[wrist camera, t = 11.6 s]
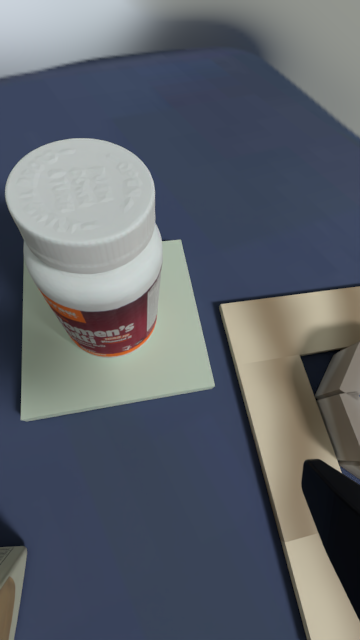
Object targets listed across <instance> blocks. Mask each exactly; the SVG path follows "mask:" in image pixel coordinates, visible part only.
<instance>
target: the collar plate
mask: <svg viewBox="0 0 360 640" xmlns="http://www.w3.org/2000/svg"><path fill="white" fill-rule="evenodd" d="M219 310H220V313H221V317H222V321H223V325H224V329H225V332H226V336H227V340H228V344H229V347H230V351H231V355H232V359H233V362H234V366H235V370H236V374H237V377H238V381H239V385H240V389H241V393H242V396H243V400H244V404H245V408H246V411H247V415H248V419H249V423H250V426H251V430H252V434H253V438H254V442H255V445H256V449H257V453H258V457H259V460H260V464H261V468H262V472H263V475H264V479H265V483H266V487H267V491H268V494H269V498H270V502H271V506H272V509H273V513H274V517H275V521H276V524H277V528H278V532H279V536H280V540H281V543H282V547H283V551H284V555H285V558H286V562H287V566H288V570H289V573H290V577H291V581H292V585H293V589H294V592H295V596H296V600H297V604H298V607H299V611H300V615H301V619H302V622H303V626H304V630H305V634H306V638H307V640H360V621H359V619H358V617H357V615H356V613H355V611H354V609H353V607H352V605H351V603H350V601H349V599H348V597H347V595H346V592H345V590H344V588H343V586H342V584H341V582H340V580H339V578H338V576H337V574H336V572H335V570H334V568H333V566H332V564H331V562H330V560H329V558H328V555H327V553H326V551H325V549H324V546H323V544H322V541H321V539H320V536H319V533H318V531H317V528H316V526H315V523H314V520H313V518H312V515H311V513H310V510H309V507H308V505H307V502H306V500H305V497H304V494H303V492H302V487H301V480H302V472H303V464H304V461H305V460H306V459H320V460H322V461H324V462H325V463H327V464H328V465H330V466H331V467H333V468H334V469H336V470H338V471H339V472H341V469H340V467H339V465H340V466H341V467H343V468H344V469H345V470H347V471H348V472H350V473H351V474H353V475H354V476H356V477H357V478H359V479H360V398H359V395H360V286H359V287H351V288H343V289H335V290H327V291H320V292H312V293H304V294H296V295H288V296H281V297H273V298H265V299H257V300H249V301H242V302H234V303H226V304H221V305H220V307H219ZM341 349H343V350H341ZM335 350H341V351H339V352H337V353H336V354H334V355H333V357H332V359H331V361H330V363H329V365H328V368H327V370H326V372H325V374H324V376H323V379H322V381H321V383H320V385H319V387H318V389H317V392H316V394H315V396H314V394H313V391H312V388H311V385H310V383H309V380H308V377H307V374H306V371H305V369H304V366H303V363H302V360H301V357H300V356H305V355H311V354H317V353H323V352H329V351H335ZM315 398H317V399H318V400H317V401H316V399H315ZM337 460H340V461H339V464H338V461H337ZM341 473H342V472H341Z"/></svg>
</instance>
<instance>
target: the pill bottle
mask: <svg viewBox="0 0 360 640" xmlns="http://www.w3.org/2000/svg"><path fill="white" fill-rule="evenodd" d="M5 199H6V203H7V206H8V210H9V212H10V214H11V216H12V218H13V220H14V222H15V223H16V225H17V227H18V229H19V231H20V233H21V235H22V237H23V239H24V249H23V251H24V260H25V263H26V267H27V270H28V272H29V274H30V276H31V278H32V279H33V281H34V283H35V284H36V286H37V287H38V289H39V290H40V292H41V293H42V295H43V297H44V298H45V300H46V301H47V303H48V304H49V306H50V308H51V309H52V311H53V312H54V314H55V315H56V317H57V318H58V320H59V321H60V323H61V324H62V326H63V327H64V329H65V330H66V332H67V333H68V335H69V336H70V338H71V339H72V340H73V342H74V343H75V344H76V345H77V346H78V347H79V348H80V349H82V350H83V351H85V352H87V353H88V354H91V355H93V356H97V357H101V358H118V357H122V356H126V355H128V354H131V353H133V352H134V351H136V350H138V349H139V348H140V347H142V346H143V345H144V344H145V343H146V342H147V340H148V339H149V338H150V336H151V335H152V333H153V331H154V328H155V325H156V320H157V312H158V301H159V289H160V279H161V269H162V262H163V247H162V239H161V235H160V232H159V230H158V227H157V226H156V224H155V189H154V182H153V179H152V176H151V174H150V172H149V170H148V169H147V167H146V166H145V164H144V163H143V162H142V161H141V160H140V159H139V158H138V157H137V156H135V155H134V154H133V153H131V152H130V151H128V150H126V149H124V148H123V147H121V146H118V145H116V144H113V143H110V142H107V141H103V140H97V139H87V138H76V139H66V140H60V141H56V142H52V143H49V144H46V145H44V146H41V147H39V148H37V149H35V150H34V151H32V152H30V153H29V154H27V155H26V156H25V157H23V158H22V159H21V160H20V161H19V162H18V163H17V164H16V165H15V167H14V168H13V169H12V171H11V173H10V175H9V177H8V179H7V183H6V188H5Z"/></svg>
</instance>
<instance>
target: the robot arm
mask: <svg viewBox="0 0 360 640" xmlns="http://www.w3.org/2000/svg"><path fill="white" fill-rule="evenodd" d="M301 487H302V492H303V494H304V497H305V500H306V502H307V505H308V507H309V510H310V513H311V515H312V518H313V520H314V523H315V526H316V528H317V531H318V533H319V536H320V539H321V541H322V544H323V546H324V549H325V551H326V553H327V555H328V558H329V560H330V562H331V564H332V566H333V568H334V570H335V572H336V574H337V576H338V578H339V580H340V582H341V584H342V586H343V588H344V590H345V592H346V595H347V597H348V599H349V601H350V603H351V605H352V607H353V609H354V611H355V613H356V615H357V617H358V619H359V621H360V485H359V484H358V483H356V482H355V481H353V480H351V479H350V478H348V477H347V476H345V475H344V474H342V473H341V472H339V471H338V470H336V469H334V468H333V467H331V466H330V465H328V464H327V463H325V462H324V461H322V460H320V459H306V460H305V461H304V464H303V472H302V480H301Z"/></svg>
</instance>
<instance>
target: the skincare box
mask: <svg viewBox="0 0 360 640" xmlns="http://www.w3.org/2000/svg"><path fill="white" fill-rule="evenodd" d="M26 557H27V549H26V547H24V546H15V547H0V640H14V636H15V630H16V624H17V618H18V611H19V606H20V599H21V593H22V586H23V579H24V572H25V565H26Z"/></svg>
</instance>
